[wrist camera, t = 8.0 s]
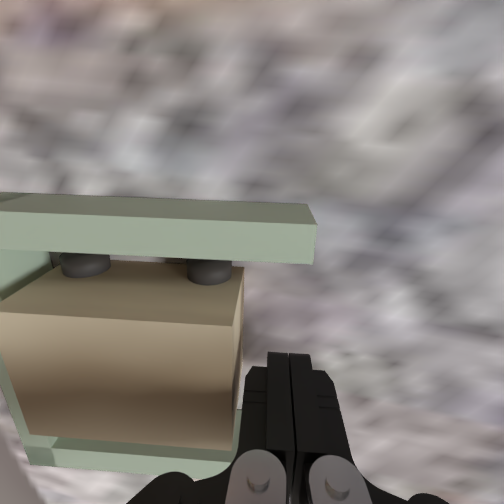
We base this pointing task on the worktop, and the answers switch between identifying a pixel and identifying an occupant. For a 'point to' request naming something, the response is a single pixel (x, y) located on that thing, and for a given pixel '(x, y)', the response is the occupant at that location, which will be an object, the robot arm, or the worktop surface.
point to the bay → (138, 244)
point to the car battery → (128, 350)
